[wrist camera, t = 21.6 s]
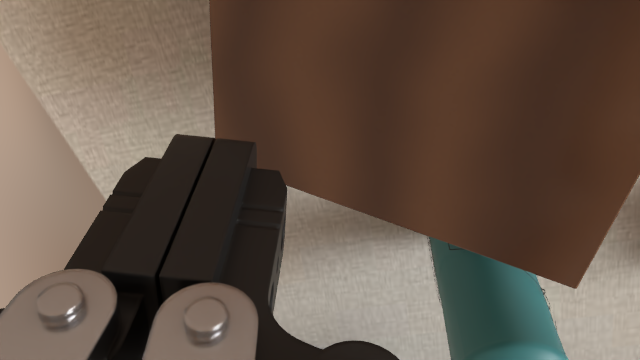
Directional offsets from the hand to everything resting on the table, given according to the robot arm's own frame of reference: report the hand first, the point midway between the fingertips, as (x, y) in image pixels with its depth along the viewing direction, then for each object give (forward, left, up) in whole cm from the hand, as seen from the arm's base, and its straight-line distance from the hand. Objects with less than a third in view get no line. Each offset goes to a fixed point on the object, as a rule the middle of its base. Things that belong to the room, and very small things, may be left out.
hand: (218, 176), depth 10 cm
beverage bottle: (-4, -22, -24) cm, 33 cm away
